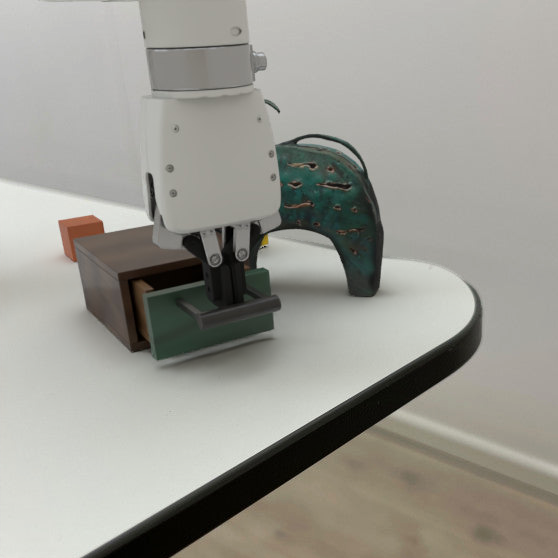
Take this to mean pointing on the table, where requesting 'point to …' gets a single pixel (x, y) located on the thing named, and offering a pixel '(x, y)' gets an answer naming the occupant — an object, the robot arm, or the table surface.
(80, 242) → the cabinet
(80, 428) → the table surface
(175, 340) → the drawer
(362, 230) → the ceramic cat
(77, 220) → the block
